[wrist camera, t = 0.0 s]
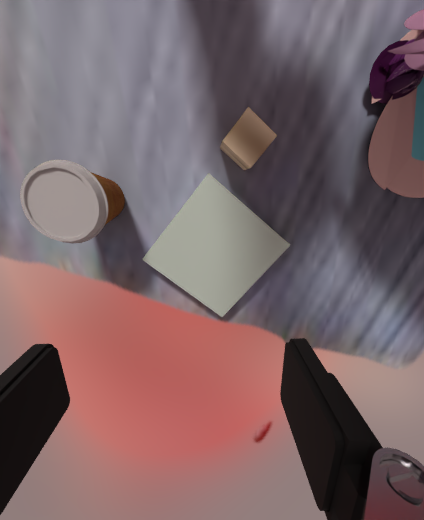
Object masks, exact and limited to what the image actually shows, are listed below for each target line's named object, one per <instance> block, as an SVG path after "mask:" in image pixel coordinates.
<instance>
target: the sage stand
mask: <svg viewBox="0 0 424 520" xmlns="http://www.w3.org/2000/svg"><path fill="white" fill-rule="evenodd" d="M289 246H290V244H289V243H287V242H286V241H285V240H284V239H283V238H282V237H281V236H279V235H278V234H277V233H276V232H275V231H274V230H273V229H272V228H270V227H269V226H268V225H267V224H266V223H265V222H264V221H262V220H261V219H260V218H259V217H258V216H257V215H256V214H254V213H253V212H252V211H251V210H250V209H249V208H248V207H246V206H245V205H244V204H243V203H242V202H241V201H240V200H238V199H237V198H236V197H235V196H234V195H233V194H232V193H230V192H229V191H228V190H227V189H226V188H225V187H224V186H223V185H221V184H220V183H219V182H218V181H217V180H216V179H215V178H213V177H212V176H211V175H210V174H209V173H208V175H207V176H206V177H205V178H204V180H203V181H202V182H201V184H200V185H199V186H198V188H197V189H196V190H195V191H194V193H193V194H192V195H191V197H190V198H189V199H188V201H187V202H186V203H185V204H184V206H183V207H182V208H181V210H180V211H179V212H178V214H177V215H176V216H175V217H174V219H173V220H172V221H171V223H170V224H169V225H168V227H167V228H166V229H165V230H164V232H163V233H162V234H161V236H160V237H159V238H158V240H157V241H156V242H155V243H154V245H153V246H152V247H151V249H150V250H149V251H148V252H147V254H146V255H145V256H144V258H143V259H142V260H143V261H145V262H146V263H147V264H149V265H150V266H152V267H153V268H154V269H156V270H157V271H159V272H160V273H161V274H163V275H164V276H165V277H167V278H168V279H170V280H171V281H172V282H174V283H175V284H177V285H178V286H179V287H181V288H182V289H184V290H185V291H186V292H188V293H189V294H190V295H192V296H193V297H195V298H196V299H197V300H199V301H200V302H202V303H203V304H204V305H206V306H207V307H208V308H210V309H211V310H213V311H214V312H215V313H217V314H218V315H220V316H221V317H223V316H224V315H225V314H226V313H227V312H228V311H229V310H230V308H231V307H232V306H233V305H234V304H235V303H236V302H237V301H238V300H239V299H240V298H241V297H242V296H243V295H244V294H245V293H246V292H247V291H248V289H249V288H250V287H251V286H252V285H253V284H254V283H255V282H256V281H257V280H258V279H259V278H260V277H261V276H262V275H263V274H264V273H265V271H266V270H267V269H268V268H269V267H270V266H271V265H272V264H273V263H274V262H275V261H276V260H277V259H278V258H279V257H280V256H281V255H282V254H283V252H284V251H285V250H286V249H287V248H288V247H289Z"/></svg>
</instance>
